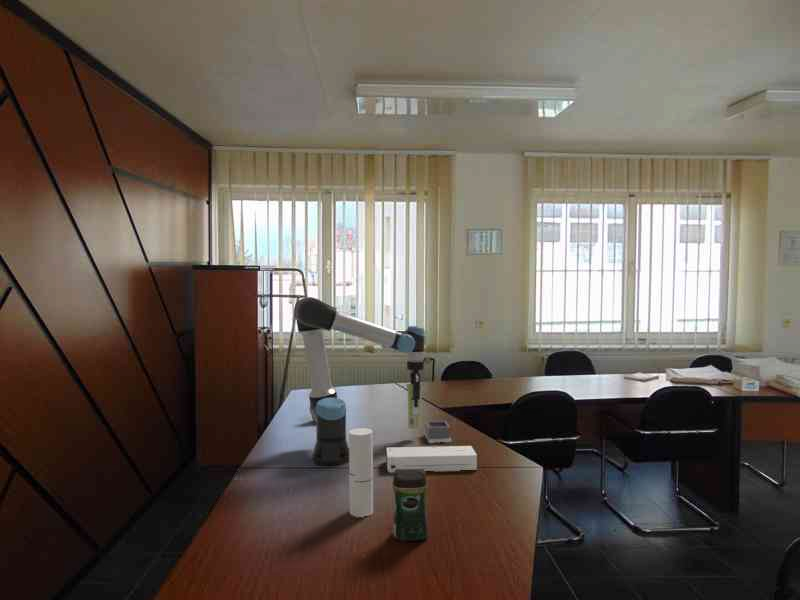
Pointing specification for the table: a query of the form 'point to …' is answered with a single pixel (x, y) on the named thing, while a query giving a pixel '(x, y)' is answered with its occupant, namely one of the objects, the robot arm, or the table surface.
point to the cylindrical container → (361, 472)
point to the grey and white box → (437, 431)
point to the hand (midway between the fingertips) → (414, 412)
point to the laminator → (432, 458)
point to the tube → (412, 418)
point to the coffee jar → (410, 505)
